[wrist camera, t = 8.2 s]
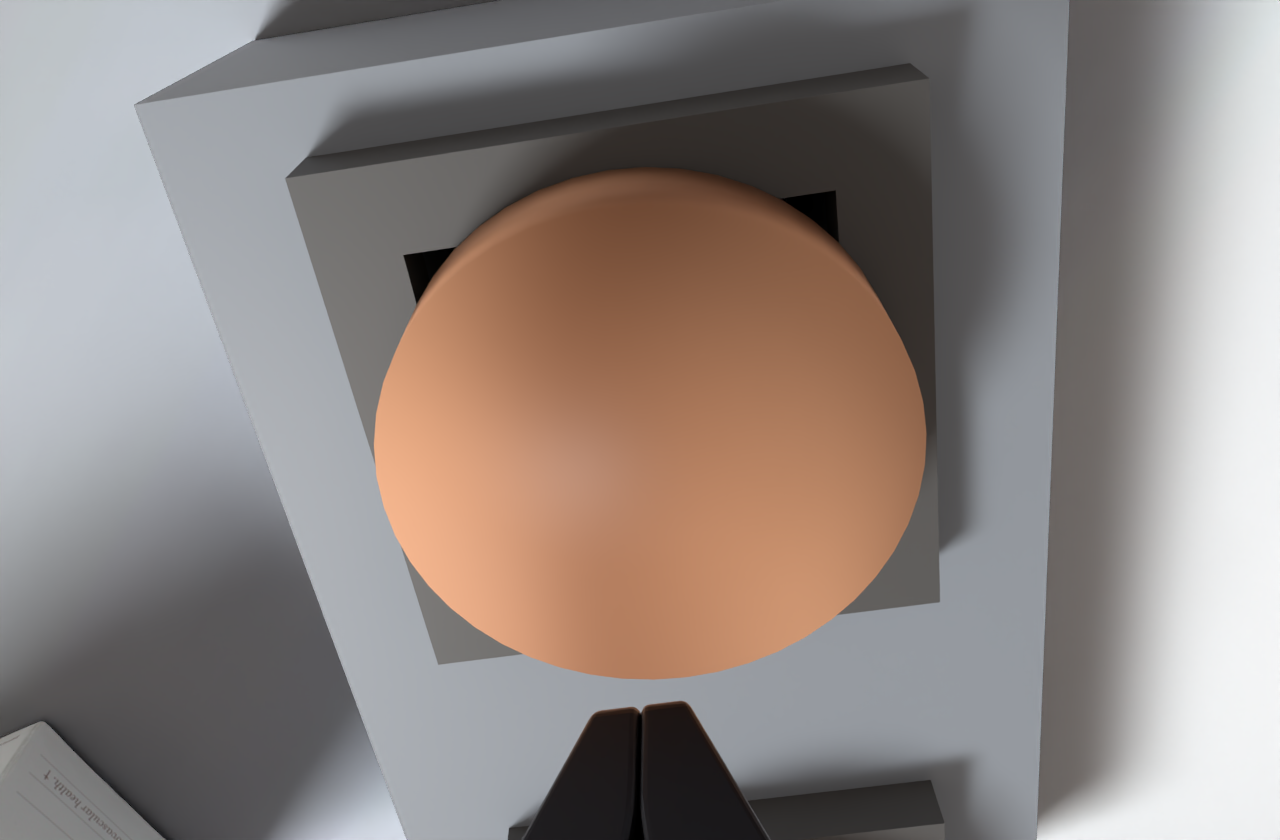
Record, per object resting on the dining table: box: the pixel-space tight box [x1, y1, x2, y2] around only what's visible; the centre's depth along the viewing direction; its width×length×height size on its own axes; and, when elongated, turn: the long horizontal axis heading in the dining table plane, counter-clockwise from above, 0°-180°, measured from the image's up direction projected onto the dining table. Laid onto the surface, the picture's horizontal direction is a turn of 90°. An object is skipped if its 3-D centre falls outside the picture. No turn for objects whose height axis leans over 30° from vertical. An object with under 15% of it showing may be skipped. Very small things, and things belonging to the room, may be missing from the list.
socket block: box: [134, 0, 1070, 840], centre depth 21 cm, size 12×23×6 cm, turn 8°
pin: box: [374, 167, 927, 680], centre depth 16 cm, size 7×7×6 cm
